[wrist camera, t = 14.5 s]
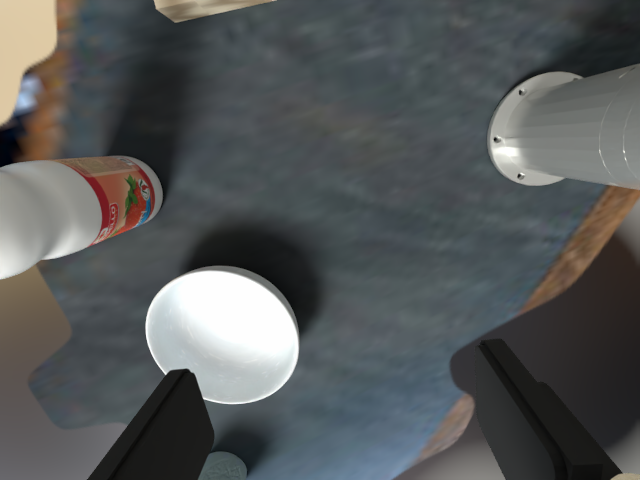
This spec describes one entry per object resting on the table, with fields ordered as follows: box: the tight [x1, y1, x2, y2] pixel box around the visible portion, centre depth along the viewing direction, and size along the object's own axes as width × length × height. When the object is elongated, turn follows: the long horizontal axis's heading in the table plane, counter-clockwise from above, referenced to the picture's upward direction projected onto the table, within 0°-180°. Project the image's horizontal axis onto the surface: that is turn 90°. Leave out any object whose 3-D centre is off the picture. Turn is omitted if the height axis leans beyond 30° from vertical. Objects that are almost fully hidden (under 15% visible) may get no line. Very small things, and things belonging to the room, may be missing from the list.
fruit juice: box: [0, 156, 163, 279], centre depth 30 cm, size 9×9×28 cm
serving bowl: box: [146, 266, 299, 404], centre depth 45 cm, size 21×21×7 cm
